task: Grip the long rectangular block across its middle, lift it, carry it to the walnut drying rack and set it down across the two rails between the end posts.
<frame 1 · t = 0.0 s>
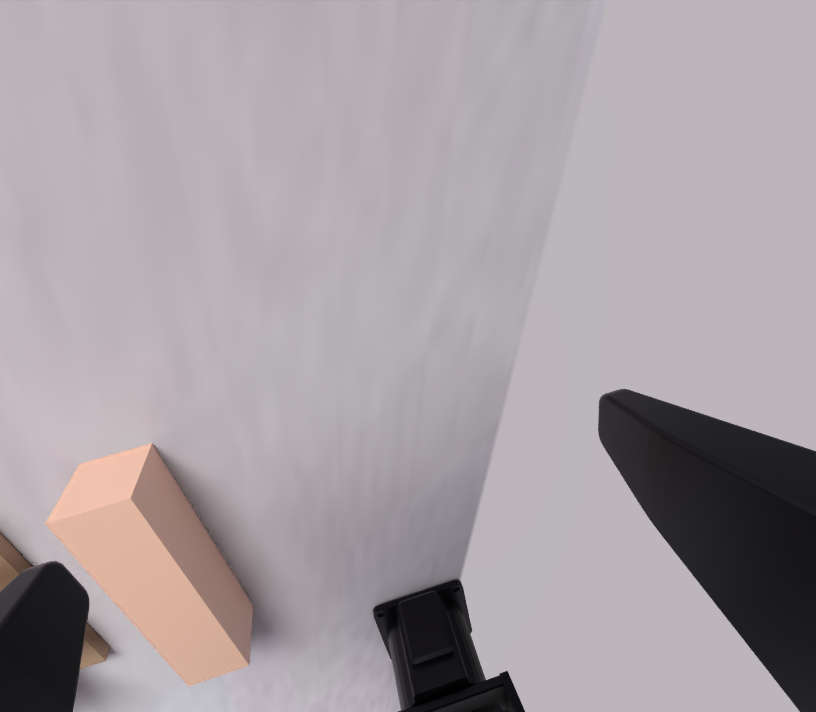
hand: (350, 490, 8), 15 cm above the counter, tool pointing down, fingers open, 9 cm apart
long rectangular block: (179, 541, 27), on the counter
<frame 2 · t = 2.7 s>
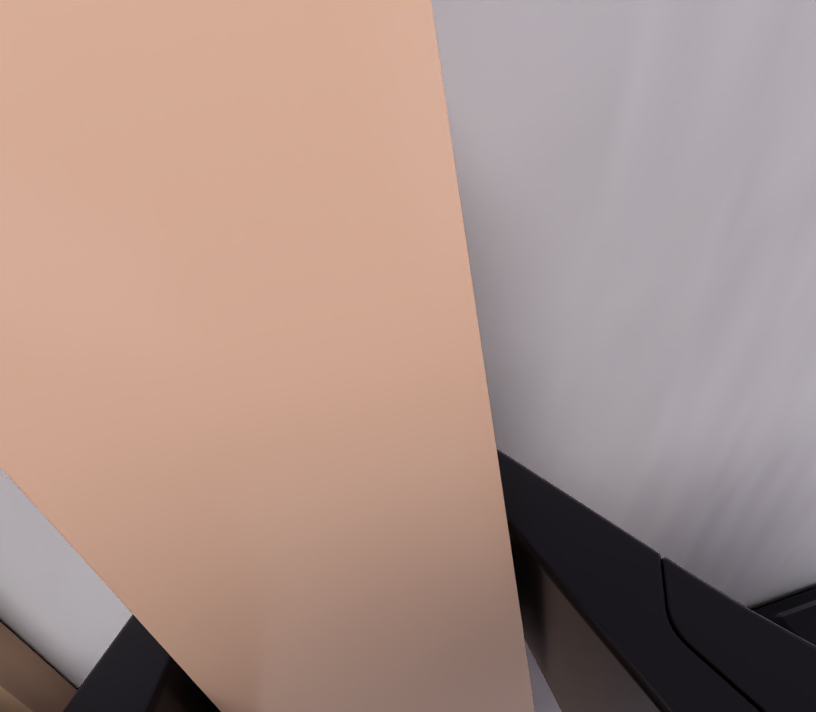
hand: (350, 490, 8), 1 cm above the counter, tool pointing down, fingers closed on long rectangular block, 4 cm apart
long rectangular block: (342, 442, 9), on the counter, touching gripper
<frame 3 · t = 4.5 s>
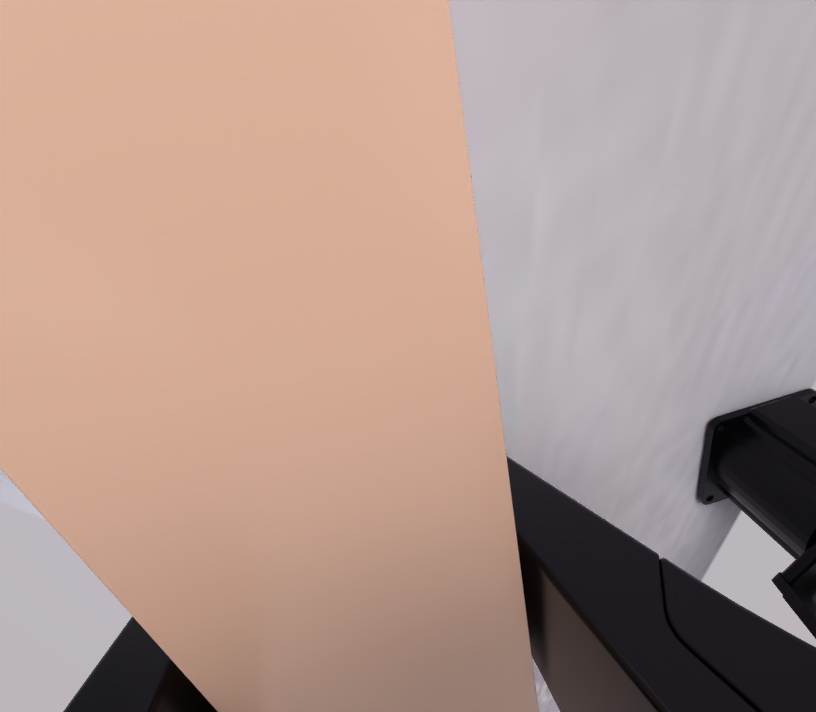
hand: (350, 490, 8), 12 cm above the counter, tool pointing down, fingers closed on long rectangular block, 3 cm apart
long rectangular block: (344, 443, 9), point 10 cm above the counter, touching gripper
when the fingers open (5 cm above the counter, at t = 6.1 s): long rectangular block stays where it is, resting on rack.
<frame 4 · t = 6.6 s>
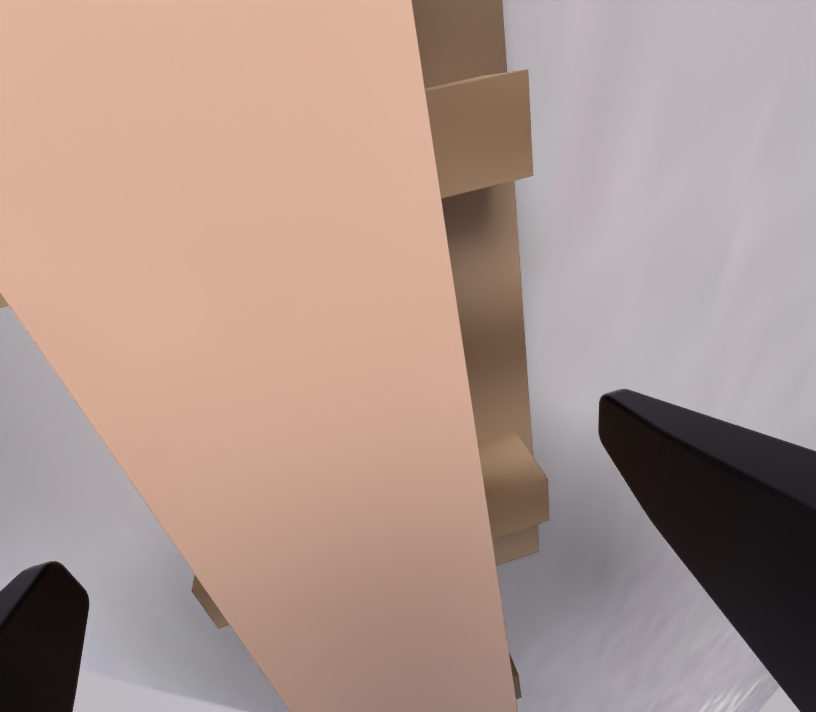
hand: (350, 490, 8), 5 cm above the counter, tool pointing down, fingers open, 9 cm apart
rack: (327, 351, 12), on the counter
long rectangular block: (338, 412, 10), point 3 cm above the counter, touching rack
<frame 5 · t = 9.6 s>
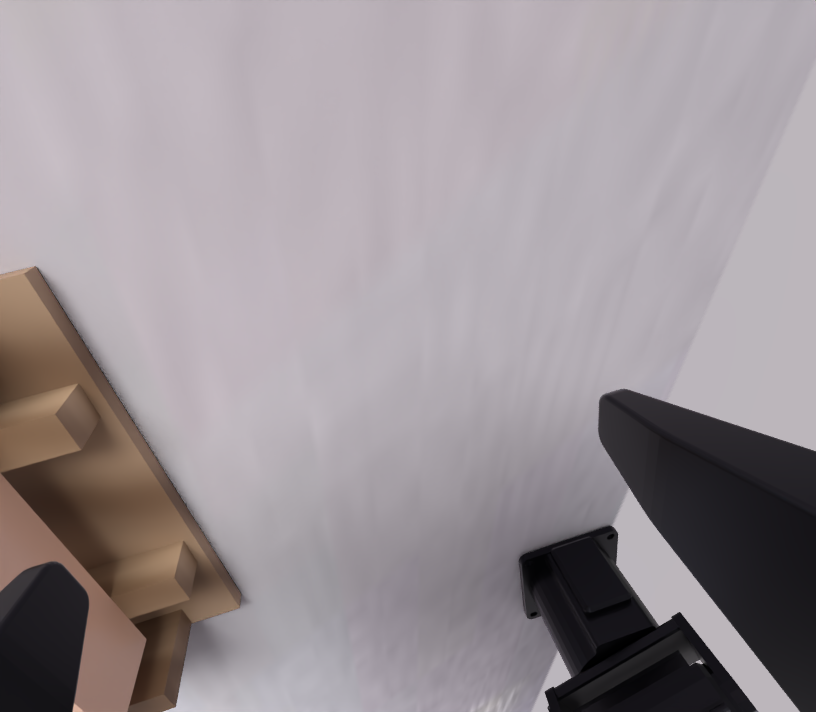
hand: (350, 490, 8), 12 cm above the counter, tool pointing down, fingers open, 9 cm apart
rack: (45, 502, 20), on the counter
long rectangular block: (13, 555, 18), point 3 cm above the counter, touching rack
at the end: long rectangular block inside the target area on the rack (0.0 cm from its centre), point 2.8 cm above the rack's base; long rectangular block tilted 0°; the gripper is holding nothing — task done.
